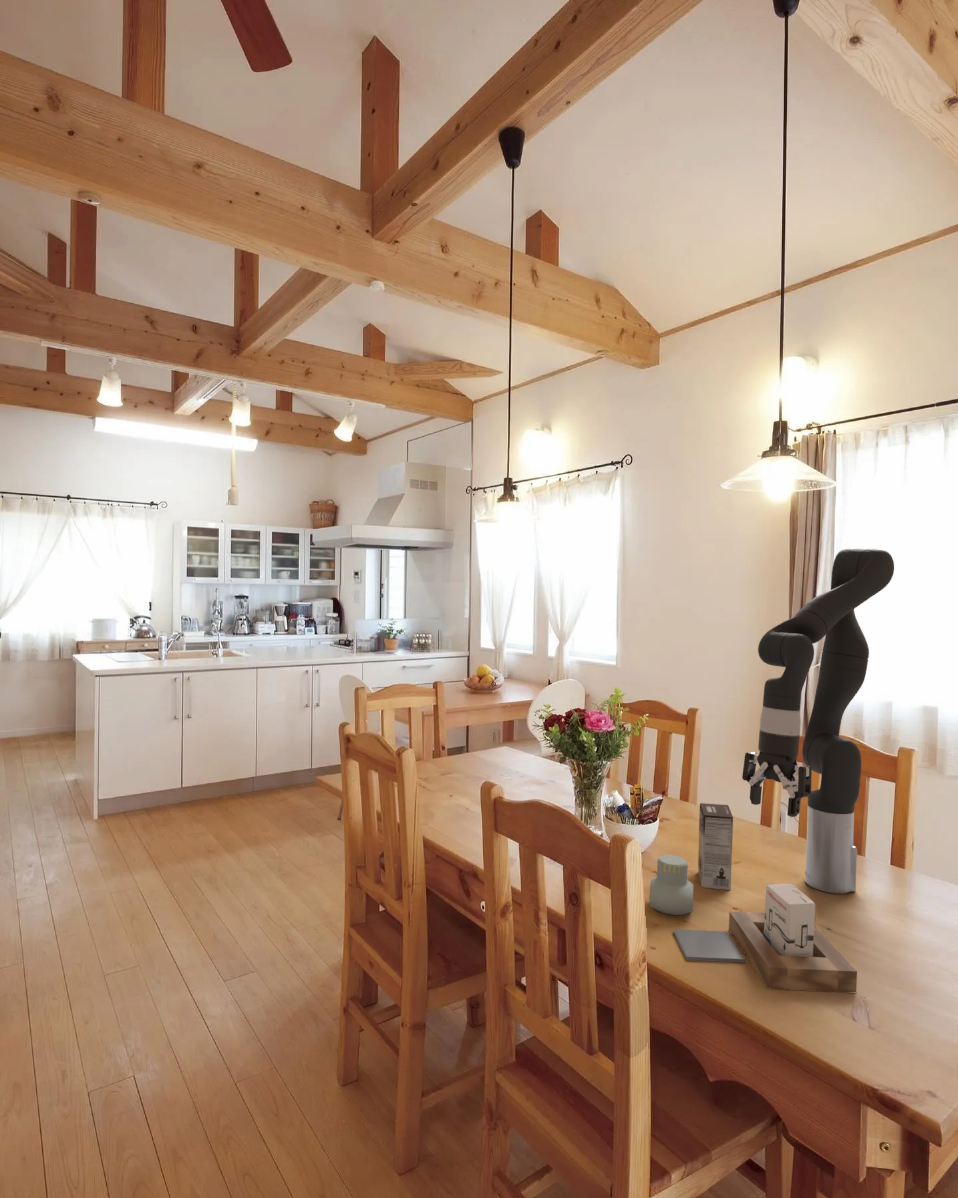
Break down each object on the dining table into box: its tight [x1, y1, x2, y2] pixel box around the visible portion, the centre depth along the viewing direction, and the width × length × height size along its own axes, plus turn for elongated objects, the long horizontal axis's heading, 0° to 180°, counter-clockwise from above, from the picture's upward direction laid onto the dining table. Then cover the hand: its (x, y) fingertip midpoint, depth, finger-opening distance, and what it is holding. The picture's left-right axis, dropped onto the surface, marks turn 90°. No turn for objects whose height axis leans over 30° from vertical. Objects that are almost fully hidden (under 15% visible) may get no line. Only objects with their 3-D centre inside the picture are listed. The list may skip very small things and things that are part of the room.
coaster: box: [672, 928, 746, 964], centre depth 127 cm, size 10×10×1 cm
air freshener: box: [648, 854, 694, 916], centre depth 142 cm, size 11×8×10 cm
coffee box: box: [697, 802, 734, 891], centre depth 156 cm, size 9×6×16 cm
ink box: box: [764, 883, 816, 957], centre depth 123 cm, size 9×5×12 cm, turn 5°
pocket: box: [728, 910, 858, 993], centre depth 123 cm, size 14×20×4 cm
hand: (773, 810), depth 143 cm, fingers open, 8 cm apart
